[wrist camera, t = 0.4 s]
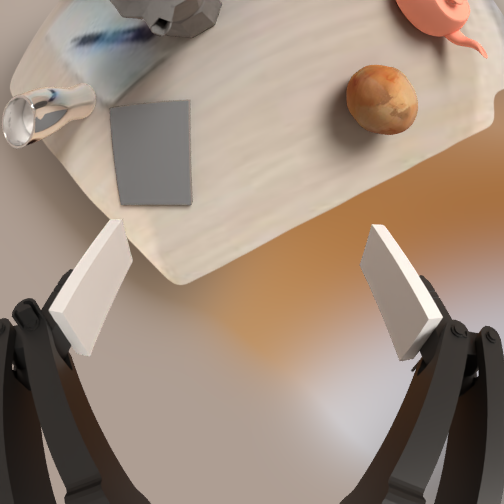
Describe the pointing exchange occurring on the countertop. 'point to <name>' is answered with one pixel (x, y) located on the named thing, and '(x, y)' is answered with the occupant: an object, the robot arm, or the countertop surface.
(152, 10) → the coffeepot
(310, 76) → the countertop surface
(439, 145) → the countertop surface
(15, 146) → the beer glass
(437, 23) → the teapot
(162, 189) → the slate board
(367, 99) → the onion
